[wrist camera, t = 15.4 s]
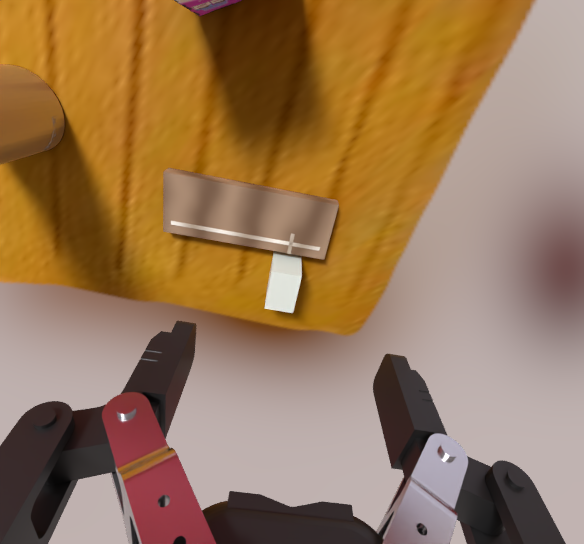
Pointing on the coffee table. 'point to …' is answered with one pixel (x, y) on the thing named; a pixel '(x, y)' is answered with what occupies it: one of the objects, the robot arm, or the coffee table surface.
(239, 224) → the bronze metal plate
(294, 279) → the block
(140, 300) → the coffee table surface
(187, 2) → the candy bar box
